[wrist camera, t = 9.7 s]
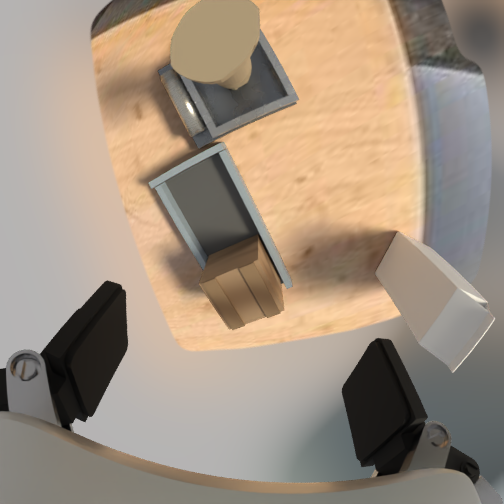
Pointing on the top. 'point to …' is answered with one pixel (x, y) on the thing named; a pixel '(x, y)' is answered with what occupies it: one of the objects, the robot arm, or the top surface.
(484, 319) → the milk carton
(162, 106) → the top surface
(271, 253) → the bay
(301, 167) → the top surface
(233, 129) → the gray square tray
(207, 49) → the handle
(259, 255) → the crate
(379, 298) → the top surface
